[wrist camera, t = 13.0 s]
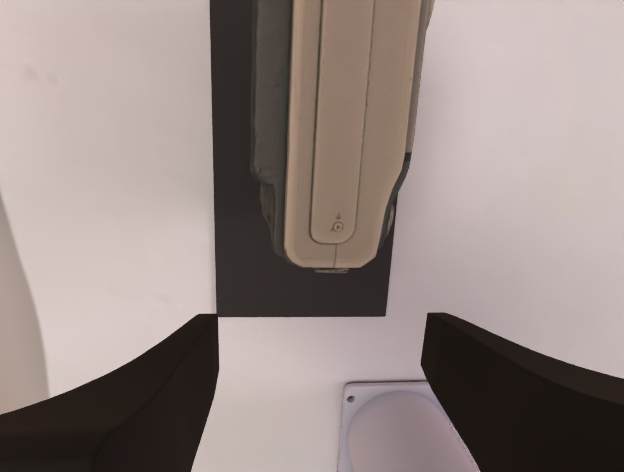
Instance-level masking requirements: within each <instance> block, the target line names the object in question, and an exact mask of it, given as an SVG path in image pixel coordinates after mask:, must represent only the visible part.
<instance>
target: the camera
mask: <svg viewBox="0 0 624 472" xmlns="http://www.w3.org/2000/svg"><path fill="white" fill-rule="evenodd" d="M434 1H435V0H253V17H252V88H251V169H250V171H251V174H252V176H253V179H255V180H257V181H260V183H261V186H260V196H259V199H260V202H261V204H262V214H263V217H264V218H265V220H266V221H267V222H268V224H269V227H270V232H271V241H272V249H273V251H274V254H275V255H276V256H278V257H280V258H285V261H286V264H289V265H297V266H299V267H308V268H314V270H315V272H326V273H347V272H348V270H349V268H360V267H362V266H363V265H365V264H366V263H368V262H369V261H371V260H372V259H373V258H375V257H376V253H377V250H378V249H380V248H382V247H383V242H384V239H385V238H386V237H387V235H388V233H389V230H390V227H391V224H392V221H393V213H394V207H393V205H392V204H393V202H394V200H395V198H396V196H397V194H398V191H399V189H400V187H401V185H402V183H403V181H404V179H405V177H406V174H407V172H408V169H409V165H410V159H411V153H412V146H413V140H414V132H415V122H416V113H417V104H418V95H419V87H420V78H421V69H422V61H423V52H424V43H425V35H426V30H427V27H428V25H429V21H430V18H431V15H432V11H433V6H434ZM320 268H339V269H320Z"/></svg>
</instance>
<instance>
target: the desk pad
mask: <svg viewBox="0 0 624 472" xmlns="http://www.w3.org/2000/svg"><path fill="white" fill-rule="evenodd" d="M252 17H253V0H210V35H211V80H212V125H213V170H214V215H215V260H216V306H217V314H218V317H385V315H386V305H387V295H388V285H389V275H390V265H391V255H392V246H393V236H394V226H395V216H396V206H397V196H398V194H397V196H396V198H395V200H394V202H393V204H392V205H393V207H394V213H393V221H392V224H391V227H390V230H389V233H388V235H387V237H386V238H385V239H384V242H383V247H382V248H380V249H378V250H377V253H376V257H375V258H373V259H372V260H371V261H369V262H368V263H366V264H365V265H363V266H362V267H360V268H349V270H348V272H347V273H326V272H315V270H314V268H308V267H299V266H297V265H289V264H286V261H285V258H280V257H278V256H276V255H275V254H274V251H273V249H272V241H271V232H270V227H269V224H268V222H267V221H266V220H265V218H264V217H263V214H262V204H261V202H260V199H259V196H260V186H261V183H260V181H257V180H255V179H253V176H252V174H251V171H250V169H251V88H252ZM320 269H339V268H320Z"/></svg>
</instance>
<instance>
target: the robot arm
mask: <svg viewBox="0 0 624 472" xmlns="http://www.w3.org/2000/svg"><path fill="white" fill-rule="evenodd" d="M421 367H422V369H423V371H424V374H425V376H426V379H427V381H428V382H389V383H350V384H347V385H346V386H345V387H344V389H343V401H342V415H341V428H340V442H339V455H338V469H337V472H478V470H477V469H476V467H475V465H474V464H473V462H472V461H471V459H470V457H469V456H468V454H467V452H466V451H465V449H464V448H463V446H462V444H461V443H460V441H459V440H458V438H457V436H456V435H455V433H454V432H453V430H452V428H451V427H450V421H451V422H452V424H453V425H454V427H455V429H456V430H457V432H458V433H459V435H460V437H461V438H462V440H463V441H464V443H465V445H466V446H467V448H468V449H469V451H470V453H471V455H472V456H473V458H474V460H475V462H476V463H477V465H478V467H479V469H480V471H481V472H624V379H622V378H618V377H614V376H610V375H607V374H603V373H599V372H596V371H592V370H589V369H585V368H582V367H579V366H575V365H572V364H569V363H566V362H563V361H560V360H557V359H555V358H552V357H549V356H546V355H543V354H541V353H538V352H535V351H533V350H530V349H528V348H526V347H523V346H521V345H518V344H516V343H514V342H511V341H509V340H507V339H504V338H502V337H500V336H498V335H496V334H493V333H491V332H489V331H487V330H485V329H483V328H480V327H478V326H476V325H474V324H472V323H470V322H467V321H465V320H463V319H460V318H458V317H456V316H453V315H450V314H447V313H427V321H426V328H425V335H424V343H423V350H422V357H421ZM218 372H219V343H218V314H198V315H196V316H195V317H194V318H192V319H191V320H190V321H188V322H187V323H186V324H184V325H183V326H182V327H180V328H179V329H178V330H176V331H175V332H174V333H172V334H171V335H170V336H168V337H167V338H166V339H164V340H163V341H161V342H160V343H158V344H157V345H155V346H154V347H152V348H151V349H149V350H148V351H146V352H145V353H143V354H142V355H140V356H139V357H137V358H136V359H134V360H132V361H130V362H129V363H127V364H125V365H123V366H121V367H120V368H118V369H116V370H114V371H112V372H110V373H108V374H106V375H104V376H102V377H100V378H97V379H95V380H93V381H91V382H89V383H86V384H84V385H82V386H80V387H77V388H75V389H73V390H70V391H68V392H66V393H63V394H60V395H58V396H55V397H52V398H50V399H47V400H44V401H41V402H39V403H36V404H33V405H30V406H27V407H24V408H21V409H18V410H15V411H12V412H8V413H4V414H1V415H0V472H191V469H192V465H193V462H194V459H195V456H196V452H197V449H198V446H199V443H200V440H201V437H202V434H203V430H204V427H205V424H206V421H207V418H208V415H209V411H210V408H211V405H212V402H213V398H214V394H215V389H216V384H217V378H218ZM349 396H353V397H352V398H350V399H349V398H348V397H349Z"/></svg>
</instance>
